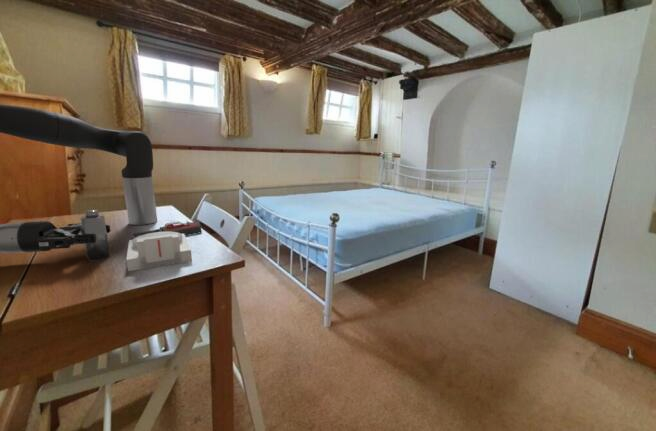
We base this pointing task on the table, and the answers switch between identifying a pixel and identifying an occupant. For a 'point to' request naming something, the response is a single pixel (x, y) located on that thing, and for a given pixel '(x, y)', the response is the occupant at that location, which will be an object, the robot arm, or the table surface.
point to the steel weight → (96, 226)
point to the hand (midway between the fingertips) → (103, 233)
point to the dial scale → (157, 250)
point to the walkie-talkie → (176, 228)
